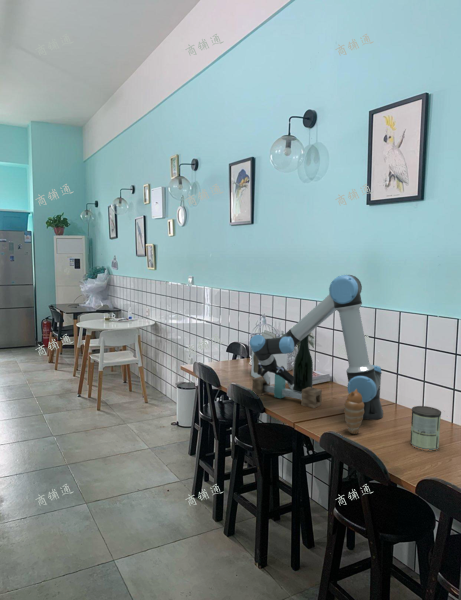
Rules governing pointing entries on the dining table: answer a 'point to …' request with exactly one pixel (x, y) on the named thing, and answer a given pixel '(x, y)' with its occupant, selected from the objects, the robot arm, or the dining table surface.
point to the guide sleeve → (311, 397)
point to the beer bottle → (303, 367)
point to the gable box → (280, 358)
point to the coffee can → (425, 427)
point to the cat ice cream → (354, 411)
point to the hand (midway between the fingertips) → (280, 384)
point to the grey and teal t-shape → (281, 389)
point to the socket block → (259, 385)
